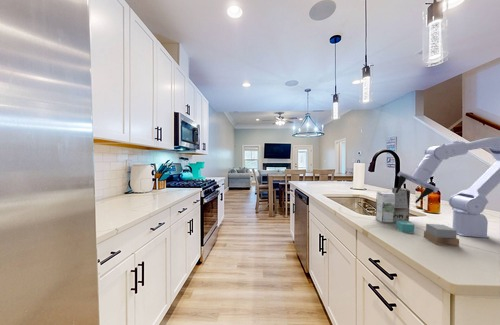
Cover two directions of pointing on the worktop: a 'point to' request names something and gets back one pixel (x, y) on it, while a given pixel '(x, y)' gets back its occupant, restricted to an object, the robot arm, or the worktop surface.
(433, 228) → the grey middle block
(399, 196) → the coffee box
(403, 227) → the teal block
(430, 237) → the walnut base block
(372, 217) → the worktop surface
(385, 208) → the syrup box
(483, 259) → the worktop surface
